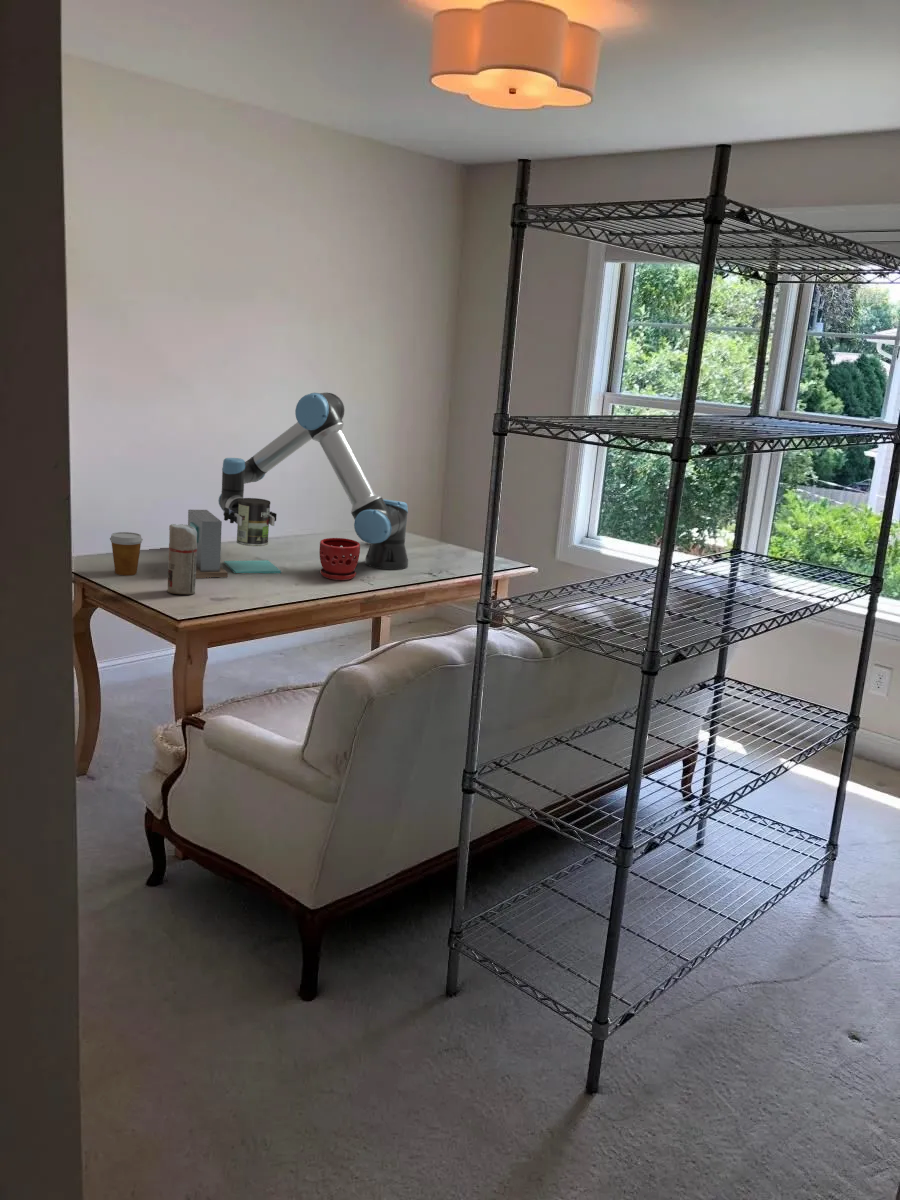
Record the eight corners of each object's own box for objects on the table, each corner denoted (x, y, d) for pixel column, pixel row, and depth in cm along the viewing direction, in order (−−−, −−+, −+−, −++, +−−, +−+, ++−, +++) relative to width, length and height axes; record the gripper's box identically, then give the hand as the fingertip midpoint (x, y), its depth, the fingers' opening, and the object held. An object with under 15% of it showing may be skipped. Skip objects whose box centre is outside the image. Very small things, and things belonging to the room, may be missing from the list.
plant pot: (310, 574, 324) (312, 538, 321) (344, 571, 332) (347, 536, 329) (330, 583, 314) (333, 546, 311) (365, 580, 322) (368, 544, 319)
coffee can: (272, 542, 327) (275, 500, 323) (261, 547, 317) (263, 504, 313) (243, 538, 328) (245, 496, 325) (231, 543, 319) (232, 500, 315)
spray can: (169, 587, 291) (171, 521, 286) (197, 589, 292) (199, 523, 287) (163, 595, 283) (165, 526, 278) (193, 597, 284) (195, 528, 279)
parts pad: (280, 573, 321) (281, 570, 321) (235, 574, 315) (235, 571, 315) (267, 562, 334) (268, 560, 334) (223, 563, 328) (223, 560, 327)
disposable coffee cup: (148, 572, 306) (149, 534, 303) (129, 578, 297) (129, 539, 294) (122, 568, 309) (123, 530, 306) (102, 573, 300) (103, 534, 297)
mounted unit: (227, 577, 309) (229, 522, 305) (195, 578, 305) (197, 522, 300) (209, 560, 330) (211, 508, 325) (179, 560, 325) (180, 508, 321)
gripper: (271, 519, 342) (290, 533, 323) (205, 519, 332) (221, 532, 313) (272, 498, 340) (291, 510, 321) (206, 497, 330) (222, 509, 311)
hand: (257, 521), depth 317 cm, fingers closed on coffee can, 10 cm apart
